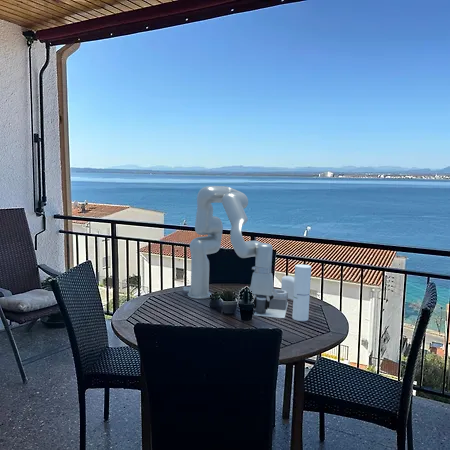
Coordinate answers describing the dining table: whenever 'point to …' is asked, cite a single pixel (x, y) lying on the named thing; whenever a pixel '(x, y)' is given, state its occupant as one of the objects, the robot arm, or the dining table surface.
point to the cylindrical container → (301, 292)
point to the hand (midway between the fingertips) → (260, 307)
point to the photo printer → (288, 286)
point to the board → (273, 313)
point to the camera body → (279, 300)
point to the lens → (260, 304)
